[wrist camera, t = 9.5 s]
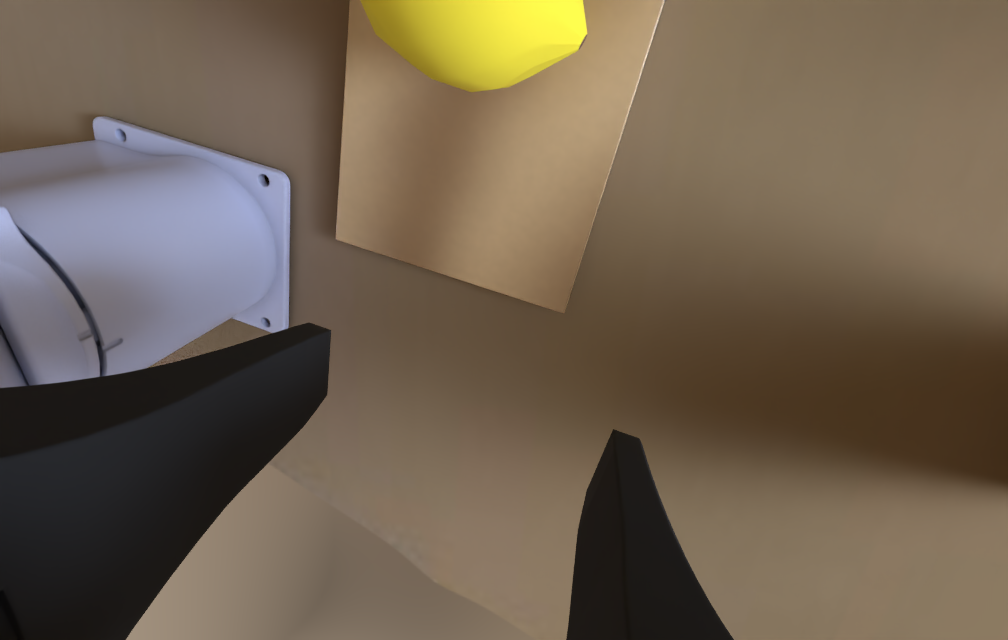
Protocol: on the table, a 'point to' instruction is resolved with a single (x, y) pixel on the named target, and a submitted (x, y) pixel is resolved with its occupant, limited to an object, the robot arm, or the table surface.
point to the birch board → (488, 157)
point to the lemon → (479, 37)
